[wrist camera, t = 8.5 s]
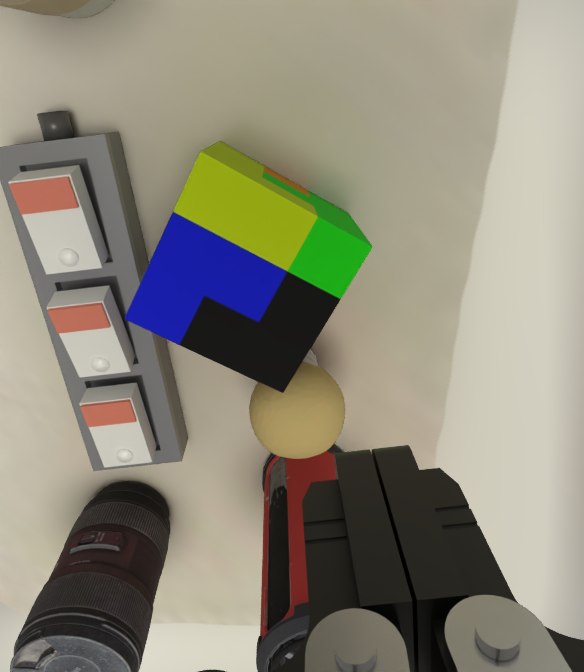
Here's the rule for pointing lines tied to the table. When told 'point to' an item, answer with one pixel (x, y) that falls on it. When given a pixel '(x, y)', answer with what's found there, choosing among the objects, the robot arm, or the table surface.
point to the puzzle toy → (248, 268)
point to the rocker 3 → (118, 424)
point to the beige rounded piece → (299, 413)
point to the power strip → (101, 275)
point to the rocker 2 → (92, 330)
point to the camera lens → (100, 587)
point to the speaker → (286, 555)
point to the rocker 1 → (60, 219)
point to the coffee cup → (59, 7)
